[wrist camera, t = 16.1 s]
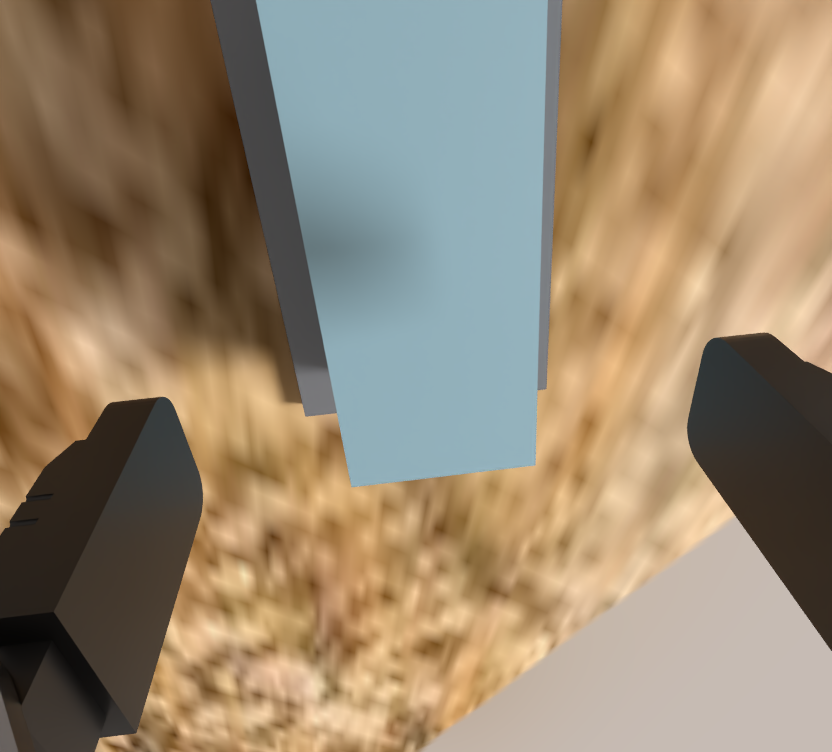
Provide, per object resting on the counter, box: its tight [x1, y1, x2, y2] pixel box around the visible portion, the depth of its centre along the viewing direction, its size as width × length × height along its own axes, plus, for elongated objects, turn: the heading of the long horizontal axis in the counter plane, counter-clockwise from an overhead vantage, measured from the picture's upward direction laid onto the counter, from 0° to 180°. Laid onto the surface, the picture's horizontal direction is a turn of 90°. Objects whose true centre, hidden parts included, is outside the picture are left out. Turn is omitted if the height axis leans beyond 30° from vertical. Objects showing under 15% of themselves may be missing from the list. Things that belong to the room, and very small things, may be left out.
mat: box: [210, 0, 562, 417], centre depth 18 cm, size 17×9×1 cm, turn 5°
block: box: [256, 0, 548, 487], centre depth 15 cm, size 12×5×6 cm, turn 5°
